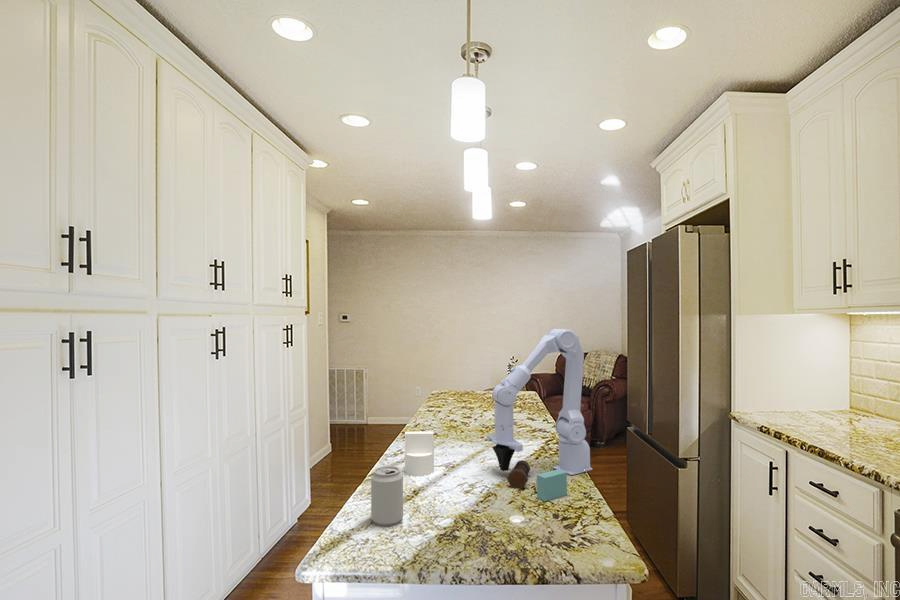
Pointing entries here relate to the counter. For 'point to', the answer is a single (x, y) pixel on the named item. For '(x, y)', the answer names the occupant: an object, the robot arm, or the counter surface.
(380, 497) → the can
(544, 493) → the teal rectangular block
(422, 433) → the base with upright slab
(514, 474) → the bolt
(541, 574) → the counter surface
